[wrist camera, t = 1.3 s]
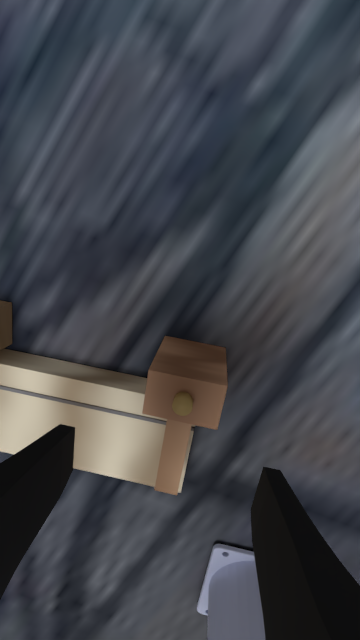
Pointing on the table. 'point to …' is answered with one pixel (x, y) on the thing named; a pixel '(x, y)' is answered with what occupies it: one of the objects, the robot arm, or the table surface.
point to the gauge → (184, 399)
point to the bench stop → (5, 324)
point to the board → (82, 415)
